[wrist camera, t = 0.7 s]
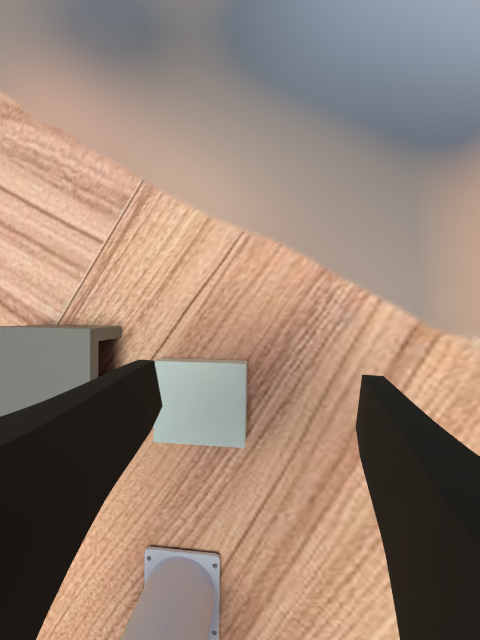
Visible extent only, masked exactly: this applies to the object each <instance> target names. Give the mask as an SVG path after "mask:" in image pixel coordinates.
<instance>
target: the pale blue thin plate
mask: <svg viewBox="0 0 480 640" xmlns="http://www.w3.org/2000/svg"><path fill="white" fill-rule="evenodd" d="M154 362H155V367H156V372H157V378H158V383H159V389H160V394H161V400H162V405H163V407H162V409H161V411H160V413H159V415H158V417H157V420H156V422H155V424H154V434H153V442H160V443H175V444H190V445H206V446H221V447H236V448H245V444H246V439H247V382H248V360H219V359H189V358H160V359H157V360H155V361H154Z"/></svg>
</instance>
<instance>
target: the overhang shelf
mask: <svg viewBox="0 0 480 640" xmlns="http://www.w3.org/2000/svg"><path fill="white" fill-rule="evenodd" d="M116 338H121V326H81V325H27V326H0V416H3V415H6V414H9V413H12V412H15V411H18V410H21V409H23V408H26V407H29V406H32V405H34V404H37V403H40V402H42V401H45V400H47V399H50V398H52V397H54V396H57V395H59V394H61V393H64V392H66V391H68V390H71V389H73V388H75V387H78V386H80V385H82V384H84V383H87V382H89V381H91V380H93V379H95V378H97V377H98V341H103V340H109V339H116Z"/></svg>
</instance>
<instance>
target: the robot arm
mask: <svg viewBox="0 0 480 640" xmlns="http://www.w3.org/2000/svg"><path fill="white" fill-rule="evenodd" d="M162 407H163V405H162V400H161V394H160V389H159V383H158V378H157V372H156V367H155V362H154V361H152V360H137V361H134V362H131V363H129V364H126V365H124V366H122V367H119V368H117V369H115V370H113V371H111V372H108V373H106V374H104V375H102V376H100V377H97V378H95V379H93V380H91V381H89V382H87V383H84V384H82V385H80V386H78V387H75V388H73V389H71V390H68V391H66V392H64V393H61V394H59V395H57V396H54V397H52V398H50V399H47V400H45V401H42V402H40V403H37V404H34V405H32V406H29V407H26V408H23V409H21V410H18V411H15V412H12V413H9V414H6V415H3V416H0V640H36V638H37V636H38V634H39V631H40V629H41V627H42V625H43V622H44V620H45V618H46V616H47V613H48V611H49V609H50V607H51V605H52V603H53V601H54V599H55V597H56V595H57V592H58V590H59V588H60V586H61V584H62V582H63V580H64V578H65V576H66V574H67V571H68V569H69V567H70V565H71V563H72V561H73V560H74V558H75V556H76V554H77V552H78V550H79V548H80V546H81V544H82V542H83V540H84V538H85V536H86V534H87V532H88V530H89V529H90V527H91V525H92V523H93V521H94V519H95V518H96V516H97V514H98V512H99V510H100V508H101V507H102V505H103V503H104V501H105V500H106V498H107V496H108V495H109V493H110V491H111V490H112V488H113V487H114V485H115V484H116V482H117V481H118V479H119V478H120V476H121V475H122V473H123V472H124V470H125V469H126V467H127V466H128V464H129V463H130V461H131V460H132V458H133V457H134V455H135V454H136V453H137V451H138V450H139V448H140V447H141V445H142V443H143V442H144V440H145V439H146V437H147V436H148V434H149V433H150V431H151V429H152V427H153V425H154V424H155V422H156V420H157V417H158V415H159V413H160V411H161V409H162ZM356 431H357V439H358V446H359V452H360V458H361V462H362V466H363V470H364V474H365V477H366V481H367V485H368V489H369V492H370V496H371V500H372V503H373V507H374V511H375V515H376V518H377V522H378V526H379V529H380V533H381V537H382V541H383V546H384V550H385V554H386V560H387V565H388V571H389V577H390V582H391V588H392V594H393V599H394V605H395V611H396V617H397V623H398V629H399V635H400V640H480V456H478V455H477V454H475V453H474V452H473V451H471V450H470V449H469V448H467V447H466V446H465V445H463V444H462V443H461V442H460V441H458V440H457V439H456V438H454V437H453V436H452V435H451V434H449V433H448V432H447V431H445V430H444V429H443V428H442V427H441V426H439V425H438V424H437V423H436V422H434V421H433V420H432V419H431V418H430V417H429V416H427V415H426V414H425V413H424V412H423V411H422V410H420V409H419V408H418V407H417V406H416V405H415V404H414V403H413V402H411V401H410V400H409V399H408V398H407V397H406V396H405V395H404V394H403V393H401V392H400V391H399V390H398V389H397V388H396V387H395V386H394V385H393V384H392V383H391V382H389V381H388V380H387V379H386V378H385V377H384V376H373V375H362V381H361V389H360V397H359V405H358V413H357V422H356ZM148 556H150V557H151V558H150V557H148ZM214 563H215V564H217V565H214ZM219 625H220V556H219V555H218V554H216V553H207V552H198V551H188V550H179V549H169V548H160V547H151V546H150V547H147V548H146V550H145V560H144V589H143V591H142V593H141V595H140V597H139V600H138V602H137V604H136V606H135V608H134V610H133V613H132V615H131V617H130V619H129V621H128V623H127V626H126V628H125V630H124V632H123V634H122V636H121V638H120V640H219ZM213 630H214V631H213Z"/></svg>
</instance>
